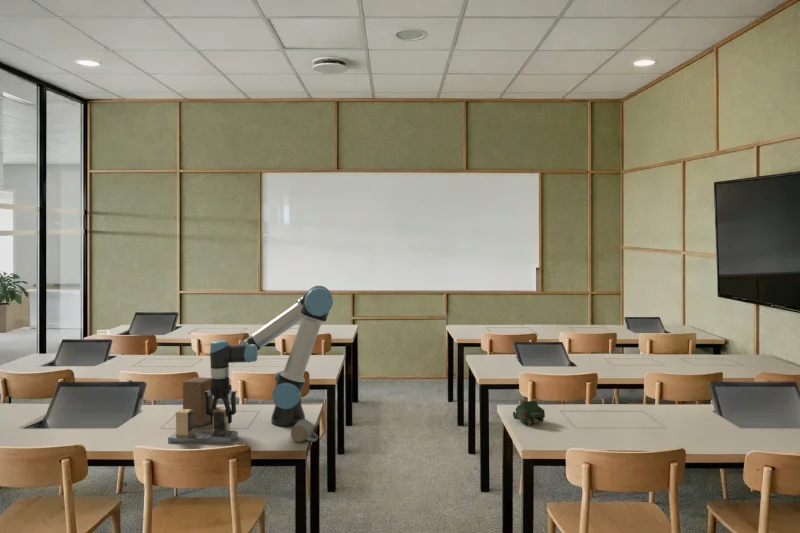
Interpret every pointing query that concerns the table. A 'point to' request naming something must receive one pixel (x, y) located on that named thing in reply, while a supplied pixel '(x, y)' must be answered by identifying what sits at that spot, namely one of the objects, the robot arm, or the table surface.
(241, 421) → the table surface
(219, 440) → the grey base plate
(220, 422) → the finger block
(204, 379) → the wooden block
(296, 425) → the ceramic mug
